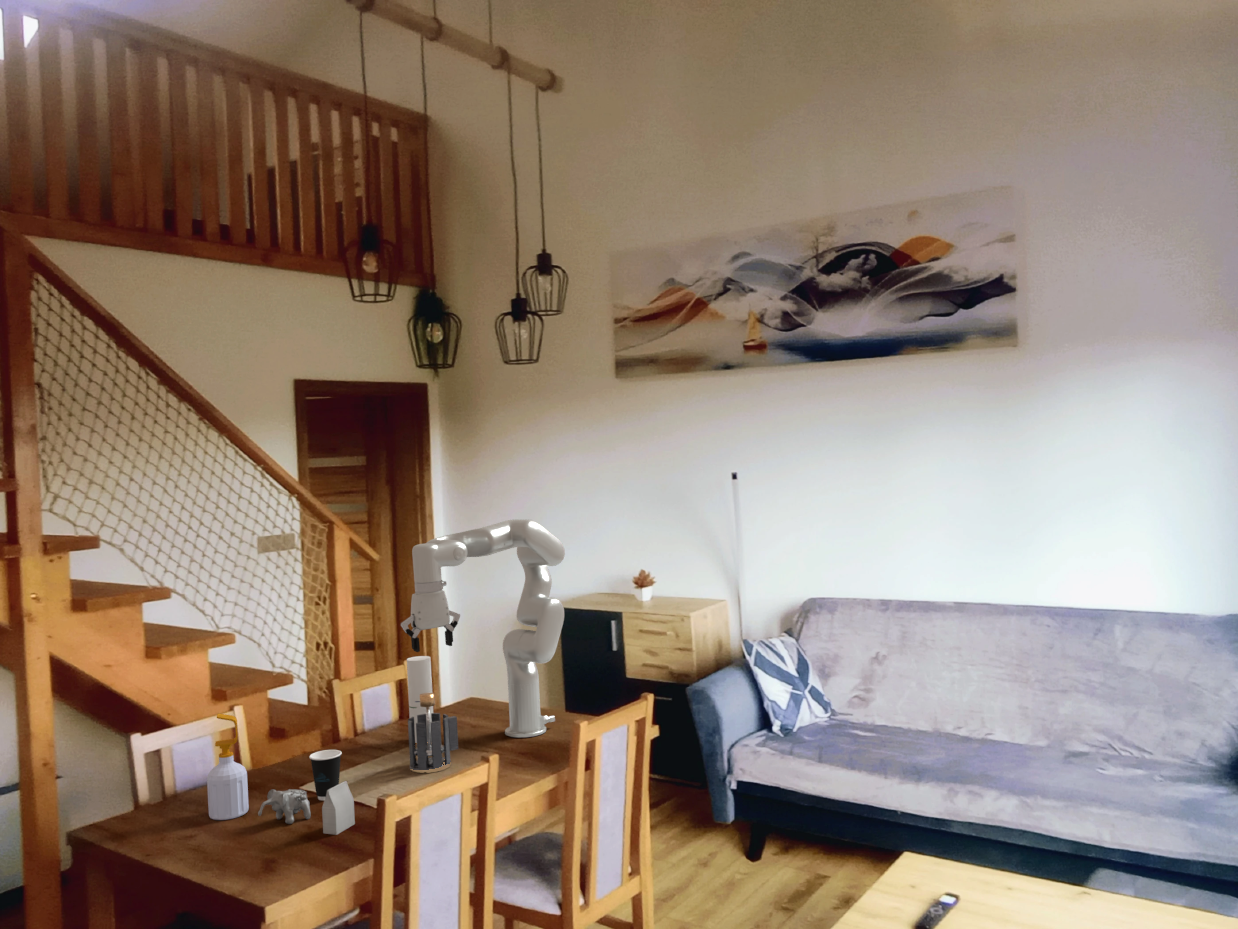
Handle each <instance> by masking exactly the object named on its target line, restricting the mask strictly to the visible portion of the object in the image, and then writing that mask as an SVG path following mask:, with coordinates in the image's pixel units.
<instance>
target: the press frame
mask: <svg viewBox="0 0 1238 929" xmlns="http://www.w3.org/2000/svg"><path fill="white" fill-rule="evenodd" d="M431 719H432V722H430V723H431V745H432V756H427V753H426V745H428V743H427V725H426V714H421V715H417V723H416V736H417V744H415V728H414V717H411V718H410V717H409V718H408V719H407V728H408V729H407V730H408V731H407V732H408V747H409V748H408V751H409V752H408V754H409V770H410V769H413V770H429V769H435V768H439V767H442V766H443V765H444V764H443V762H445V765H447V764H450V762H451V763H452V759H451V751H452V752H453V751H456V750H459V734H458V733H459V730H458V716H455V715H452V716H449V715H448V714H446V713H442V726H441V712H433V713H431ZM441 727H442V728H441ZM442 730H443V731H442ZM442 733H443V735H442ZM442 736H443V744H442ZM441 745H443V746H444V752H443V753H441ZM416 748H417V755H415V749H416ZM443 754H444V757H443ZM444 759H445V760H444ZM442 764H443V765H442Z"/></svg>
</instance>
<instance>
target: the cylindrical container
mask: <svg viewBox="0 0 1238 929" xmlns="http://www.w3.org/2000/svg"><path fill="white" fill-rule="evenodd" d="M431 660H432V659H431V656H429V655H418V656H412V657H408V658H406V670H407V671H406V672H407V674H406V675H407V690H408V691H407V693H408V711H409V712H408V714H409V718H411V717H414V728H415V743H417V736H416V723H417V715H421V714H426V707H421V706H420V694H423V693H433V682H432V681H433V680H432V678H433V677H432V661H431ZM429 708H430V722H432V719H431V713H434V706H431V707H429ZM426 725H427V722H426ZM430 728H431V723H430Z"/></svg>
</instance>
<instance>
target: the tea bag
mask: <svg viewBox="0 0 1238 929" xmlns="http://www.w3.org/2000/svg"><path fill="white" fill-rule="evenodd" d="M354 799H355V798H354V796H353V794H352V792H351V790H350V787H349V785H348V781H346V780H344V781H342V782H339V784H338V785H336V786H334V787H332V788H331V789H329V790H327V794H326V798H325V800H323V804H322V807H321V813H322V833H323V834H325V835H326V834H328V835H334V836H336V835H337V836H338V835H339V834H340V833H342V832H344V831H346V830H347V829H349V828H350V827H352V826H354V825H355V824H356V821H355V816H356V815H355V802H354V801H355V800H354Z"/></svg>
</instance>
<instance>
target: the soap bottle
mask: <svg viewBox="0 0 1238 929" xmlns="http://www.w3.org/2000/svg"><path fill="white" fill-rule="evenodd" d="M216 719H218V720H219V719H220V720H225V721H230V722H233V723H234V729H235V737H234V738H228V739H222V740H216V741H215V744H214V747H219V749H221V751H222V752H220V753H219V754H218V764H217V765H216V766H214V767H213V768H211V770H210V771H209V772H208V773H207V776H206V783H207V784H206V786H207V804H208V806H207V807H208V808H207V809H208V816H209V818H210V819H211V820H214V821H227V820H232V819H237V818H239V817H241V816H243V815H246V813H248V811H249V808H250V807H249V790H248V789H249V788H248V787H249V785H248V771H247V769H246V767H245V766H244V765H242V764H241V763H239V762H236V761H235V759H234V751H230V748H232V745H235V744H236V743H237V742H238V737H239V736H238V735H239V734H238V719H237V717H236V715H235V716H234V715H233V714H231V715H230V714H225V713H217V715H216Z"/></svg>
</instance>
